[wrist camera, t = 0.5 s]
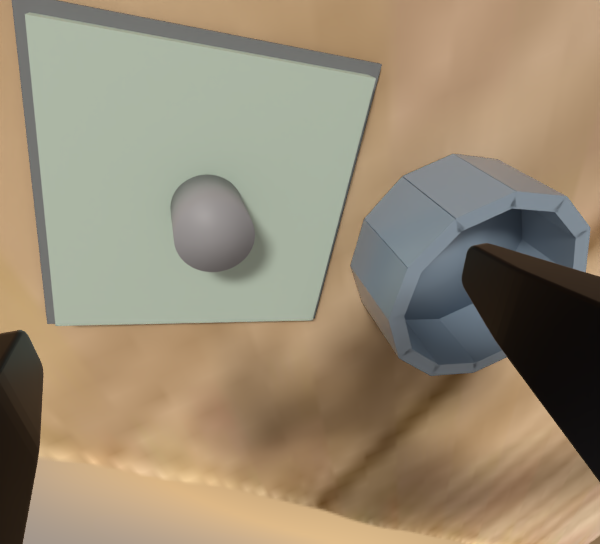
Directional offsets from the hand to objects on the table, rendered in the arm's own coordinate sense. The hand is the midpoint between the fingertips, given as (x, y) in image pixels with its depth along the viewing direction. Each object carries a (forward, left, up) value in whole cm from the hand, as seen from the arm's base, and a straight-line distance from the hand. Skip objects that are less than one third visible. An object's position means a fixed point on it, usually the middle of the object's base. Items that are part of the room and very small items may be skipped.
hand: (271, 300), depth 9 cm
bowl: (-14, +5, -13) cm, 20 cm away
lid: (0, +3, -12) cm, 13 cm away
